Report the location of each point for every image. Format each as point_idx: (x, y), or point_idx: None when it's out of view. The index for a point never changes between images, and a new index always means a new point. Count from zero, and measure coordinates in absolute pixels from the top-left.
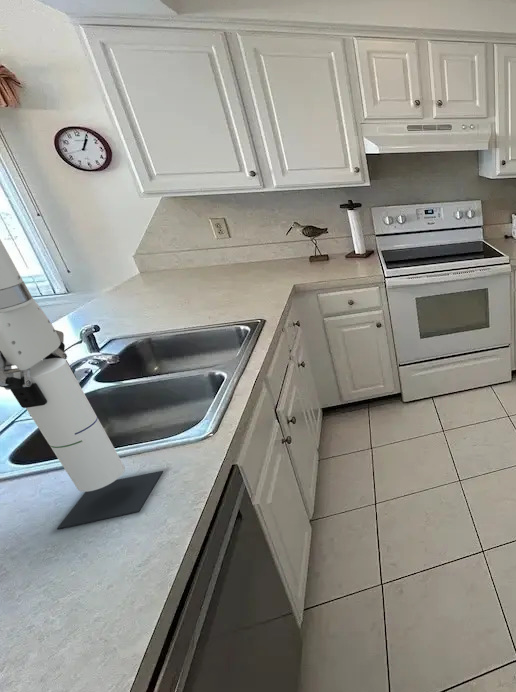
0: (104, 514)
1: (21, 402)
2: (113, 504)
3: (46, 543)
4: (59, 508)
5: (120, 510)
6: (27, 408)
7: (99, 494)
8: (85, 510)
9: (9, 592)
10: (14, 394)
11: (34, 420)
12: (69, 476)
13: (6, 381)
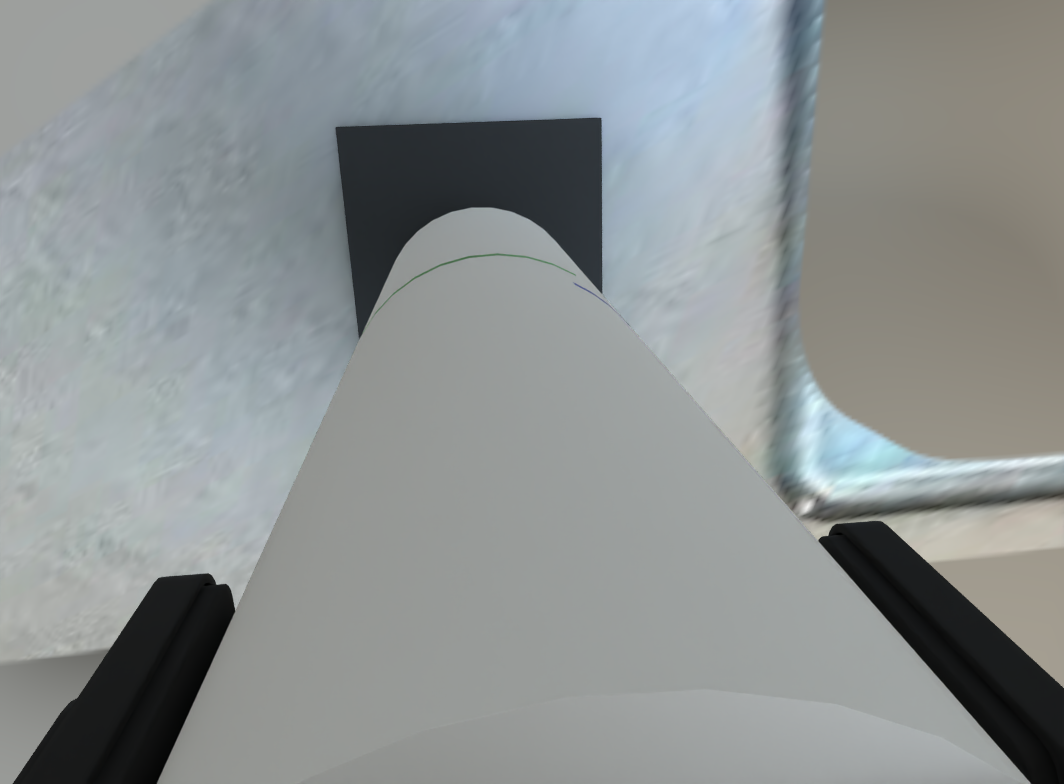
0: (379, 293)
1: (56, 729)
2: None
3: (264, 126)
4: (476, 48)
5: None
6: (297, 483)
7: (515, 202)
8: (423, 194)
9: (30, 138)
10: (53, 753)
11: (337, 399)
12: (410, 247)
13: None
